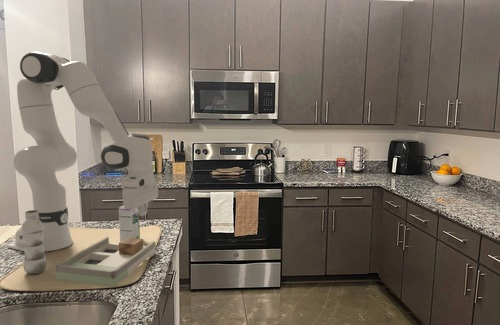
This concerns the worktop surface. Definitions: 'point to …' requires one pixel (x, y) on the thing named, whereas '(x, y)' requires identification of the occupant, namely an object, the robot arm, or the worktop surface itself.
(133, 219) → the syrup box
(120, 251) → the walnut block
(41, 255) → the plastic bottle
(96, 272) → the box
